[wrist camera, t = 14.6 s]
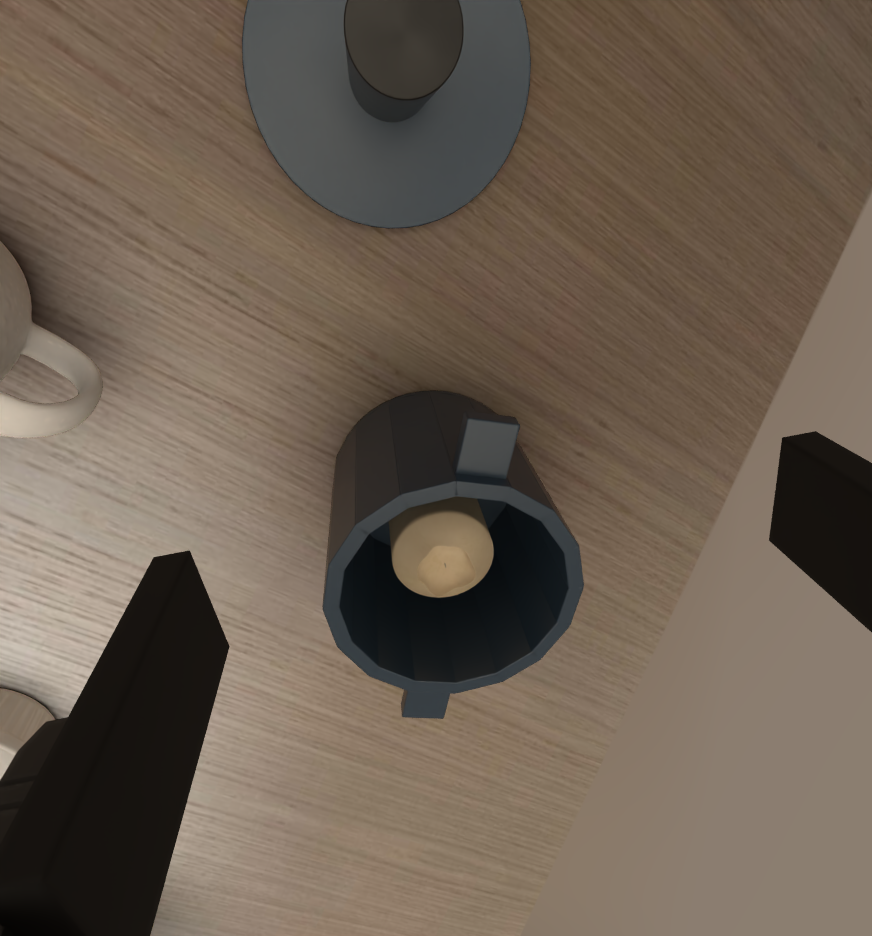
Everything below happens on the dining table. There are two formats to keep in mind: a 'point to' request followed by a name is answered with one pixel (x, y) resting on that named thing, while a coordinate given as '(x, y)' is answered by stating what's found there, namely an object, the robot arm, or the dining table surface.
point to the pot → (469, 613)
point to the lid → (388, 100)
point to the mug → (13, 333)
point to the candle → (441, 547)
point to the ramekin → (18, 723)
